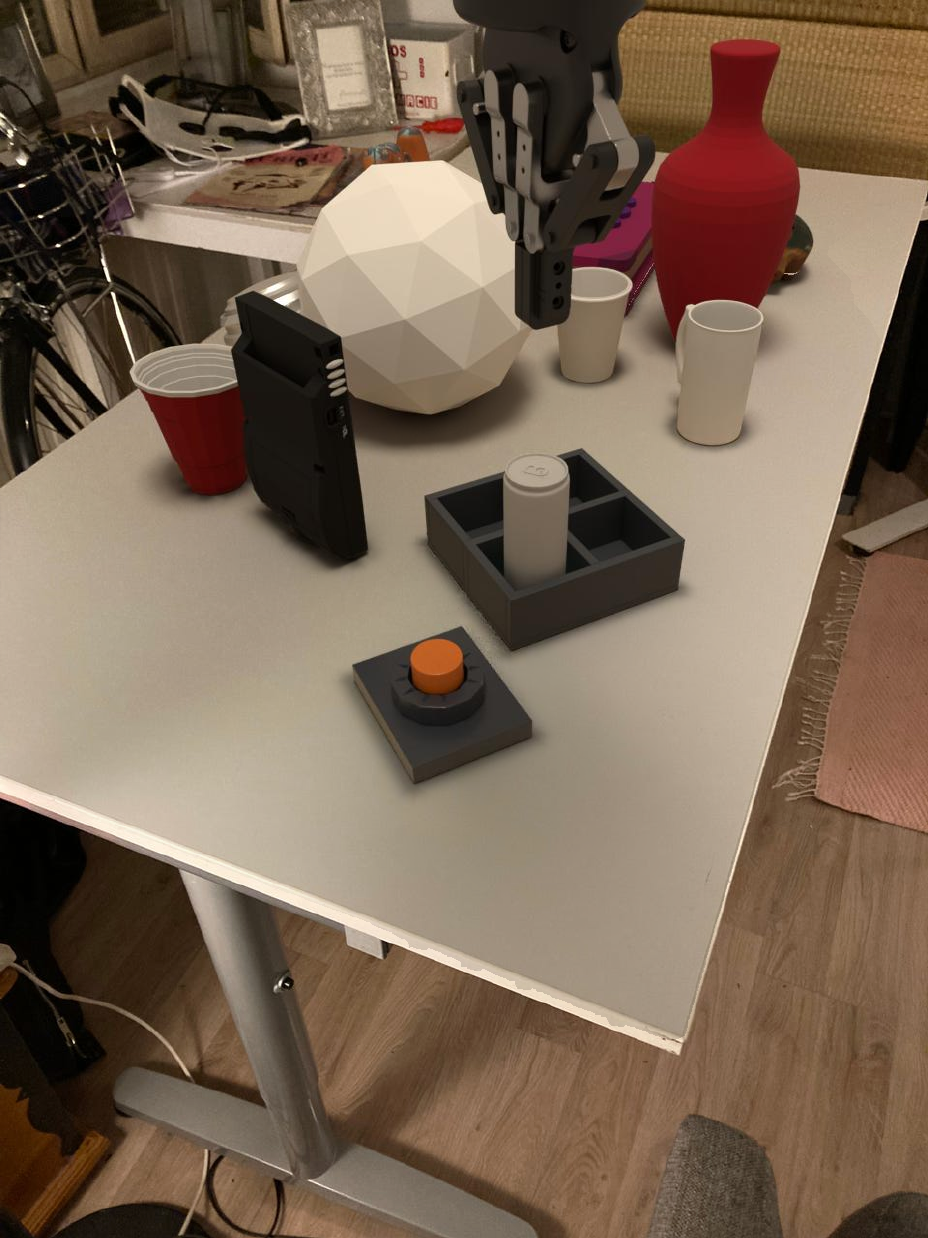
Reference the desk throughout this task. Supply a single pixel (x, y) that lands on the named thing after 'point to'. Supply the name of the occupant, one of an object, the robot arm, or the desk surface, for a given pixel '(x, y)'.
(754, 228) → the vase
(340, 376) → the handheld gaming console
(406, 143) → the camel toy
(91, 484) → the desk surface
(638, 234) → the book
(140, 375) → the plastic cup
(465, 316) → the lamp
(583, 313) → the dixie cup
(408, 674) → the panel
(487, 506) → the divided tray
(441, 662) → the button
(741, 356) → the mug
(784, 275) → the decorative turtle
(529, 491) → the beverage can
